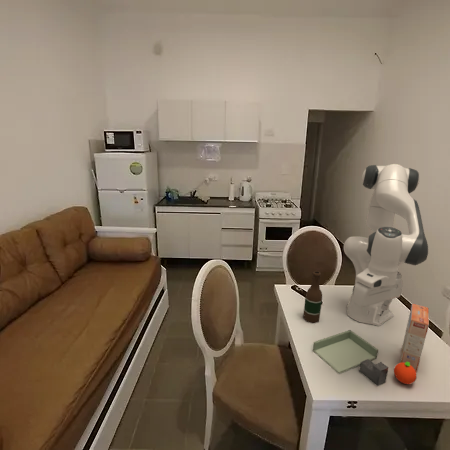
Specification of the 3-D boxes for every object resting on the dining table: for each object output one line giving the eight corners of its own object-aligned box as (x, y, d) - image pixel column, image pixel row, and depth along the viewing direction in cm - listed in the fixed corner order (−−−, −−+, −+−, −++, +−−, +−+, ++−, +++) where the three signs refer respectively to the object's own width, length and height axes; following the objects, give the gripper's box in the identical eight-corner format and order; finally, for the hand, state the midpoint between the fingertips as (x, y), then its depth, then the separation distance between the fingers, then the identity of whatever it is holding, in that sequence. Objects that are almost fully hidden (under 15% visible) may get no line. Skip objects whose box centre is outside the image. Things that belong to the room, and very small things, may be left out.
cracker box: (417, 374, 114) (429, 324, 109) (399, 367, 117) (409, 319, 112) (418, 352, 126) (429, 307, 120) (401, 347, 129) (411, 302, 123)
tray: (348, 337, 134) (350, 329, 133) (376, 358, 122) (378, 349, 121) (312, 350, 125) (313, 342, 124) (338, 373, 113) (340, 364, 112)
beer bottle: (308, 312, 153) (313, 267, 146) (322, 319, 147) (329, 272, 141) (299, 318, 147) (304, 271, 141) (314, 325, 142) (320, 277, 135)
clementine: (395, 369, 116) (398, 353, 114) (416, 378, 112) (420, 362, 110) (390, 381, 110) (393, 365, 108) (412, 392, 106) (416, 374, 104)
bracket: (358, 371, 115) (361, 356, 113) (366, 367, 117) (369, 353, 115) (377, 386, 108) (380, 370, 107) (385, 382, 110) (388, 367, 108)
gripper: (393, 267, 112) (387, 302, 116) (352, 276, 103) (346, 313, 107) (410, 274, 106) (403, 310, 110) (368, 284, 98) (361, 323, 101)
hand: (374, 312), depth 108 cm, fingers open, 8 cm apart
